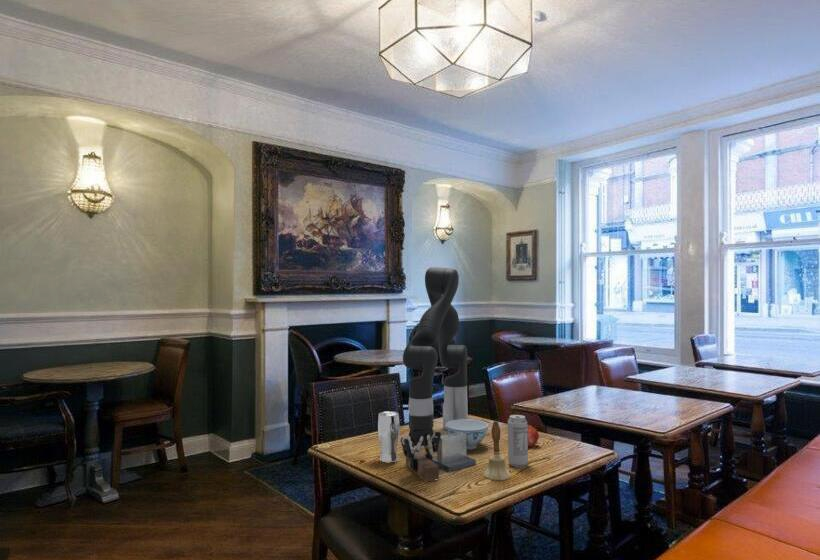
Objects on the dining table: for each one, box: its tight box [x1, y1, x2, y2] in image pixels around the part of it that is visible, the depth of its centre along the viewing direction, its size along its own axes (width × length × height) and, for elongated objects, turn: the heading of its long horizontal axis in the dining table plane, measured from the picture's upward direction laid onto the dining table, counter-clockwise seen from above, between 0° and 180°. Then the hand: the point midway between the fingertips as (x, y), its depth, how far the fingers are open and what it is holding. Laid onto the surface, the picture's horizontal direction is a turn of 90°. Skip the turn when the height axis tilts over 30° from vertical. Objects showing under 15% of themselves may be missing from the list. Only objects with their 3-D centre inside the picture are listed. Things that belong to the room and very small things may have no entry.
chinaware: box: [445, 419, 489, 450], centre depth 180 cm, size 15×15×8 cm
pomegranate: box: [527, 424, 540, 448], centre depth 181 cm, size 7×7×10 cm
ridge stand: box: [433, 432, 477, 473], centre depth 162 cm, size 10×11×9 cm
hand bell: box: [482, 420, 512, 481], centre depth 152 cm, size 8×8×16 cm
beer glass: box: [377, 411, 400, 463], centre depth 166 cm, size 7×7×15 cm
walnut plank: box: [405, 451, 440, 482], centre depth 155 cm, size 16×4×4 cm, turn 21°
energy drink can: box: [507, 414, 529, 468], centre depth 161 cm, size 6×6×15 cm
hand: (421, 468), depth 155 cm, fingers closed on walnut plank, 4 cm apart
